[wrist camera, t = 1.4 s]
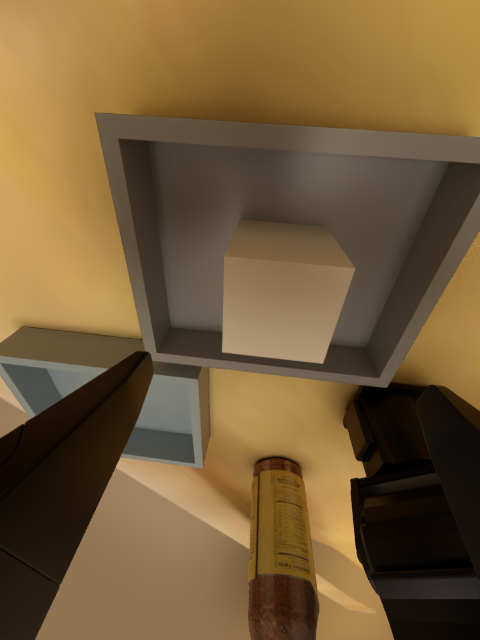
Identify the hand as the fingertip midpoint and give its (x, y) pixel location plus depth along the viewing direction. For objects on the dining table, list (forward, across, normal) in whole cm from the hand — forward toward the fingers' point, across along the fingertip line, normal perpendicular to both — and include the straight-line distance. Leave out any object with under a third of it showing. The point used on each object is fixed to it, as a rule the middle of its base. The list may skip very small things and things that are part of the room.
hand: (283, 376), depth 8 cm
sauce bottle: (+10, -4, +27) cm, 29 cm away
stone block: (+9, 0, 0) cm, 9 cm away
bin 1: (+10, +13, +15) cm, 22 cm away
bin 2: (+10, 0, 0) cm, 10 cm away
